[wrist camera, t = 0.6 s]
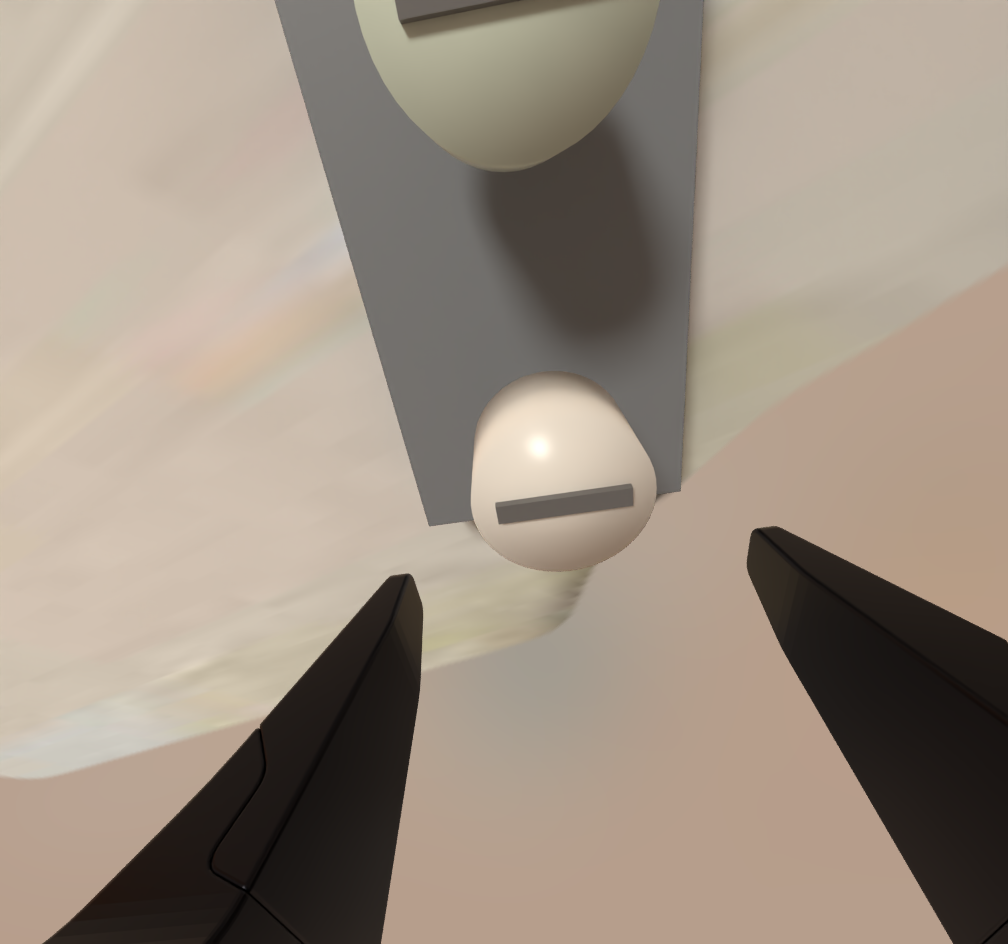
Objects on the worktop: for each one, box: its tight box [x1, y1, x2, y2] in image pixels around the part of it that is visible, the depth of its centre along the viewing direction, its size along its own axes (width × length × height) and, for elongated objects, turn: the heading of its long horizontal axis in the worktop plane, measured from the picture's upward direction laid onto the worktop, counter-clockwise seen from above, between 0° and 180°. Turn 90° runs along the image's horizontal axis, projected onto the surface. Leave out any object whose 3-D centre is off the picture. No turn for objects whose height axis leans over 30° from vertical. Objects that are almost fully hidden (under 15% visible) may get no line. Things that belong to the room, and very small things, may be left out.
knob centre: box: [354, 0, 660, 172], centre depth 9 cm, size 4×4×7 cm
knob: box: [471, 371, 657, 571], centre depth 14 cm, size 4×4×7 cm
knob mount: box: [275, 0, 704, 526], centre depth 13 cm, size 10×27×4 cm, turn 9°
